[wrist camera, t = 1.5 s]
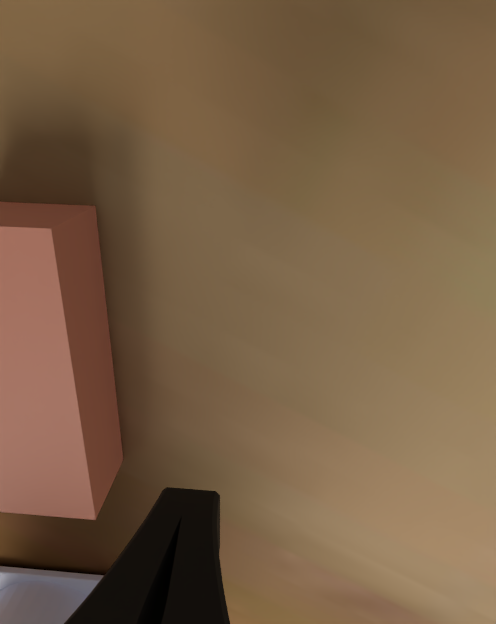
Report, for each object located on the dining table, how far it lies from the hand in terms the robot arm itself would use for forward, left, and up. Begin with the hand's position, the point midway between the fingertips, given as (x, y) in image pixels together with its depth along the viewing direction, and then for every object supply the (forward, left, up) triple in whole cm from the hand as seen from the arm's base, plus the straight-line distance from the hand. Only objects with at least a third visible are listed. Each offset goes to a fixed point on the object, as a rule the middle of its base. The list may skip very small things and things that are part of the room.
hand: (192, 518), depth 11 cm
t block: (0, +11, -8) cm, 14 cm away
